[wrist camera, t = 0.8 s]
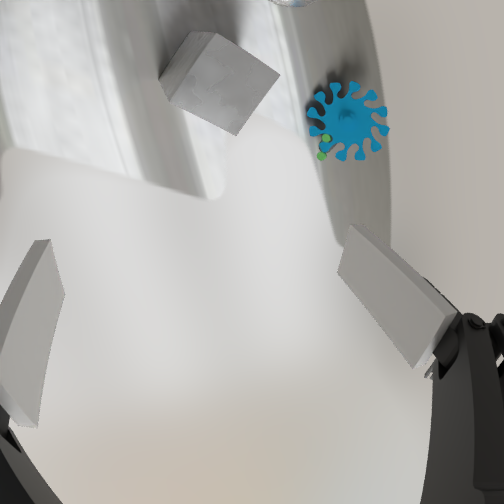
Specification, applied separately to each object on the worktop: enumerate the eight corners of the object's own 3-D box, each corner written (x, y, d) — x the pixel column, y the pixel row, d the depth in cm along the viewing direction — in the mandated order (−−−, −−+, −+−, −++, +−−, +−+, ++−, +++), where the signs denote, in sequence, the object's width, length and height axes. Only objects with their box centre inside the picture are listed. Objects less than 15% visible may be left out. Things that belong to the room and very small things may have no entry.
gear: (342, 63, 29) (407, 121, 29) (345, 72, 34) (401, 123, 34) (283, 129, 35) (344, 185, 35) (294, 129, 40) (347, 178, 40)
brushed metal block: (158, 79, 26) (169, 102, 19) (190, 30, 23) (216, 32, 17) (207, 103, 30) (236, 136, 23) (238, 58, 27) (280, 74, 20)
